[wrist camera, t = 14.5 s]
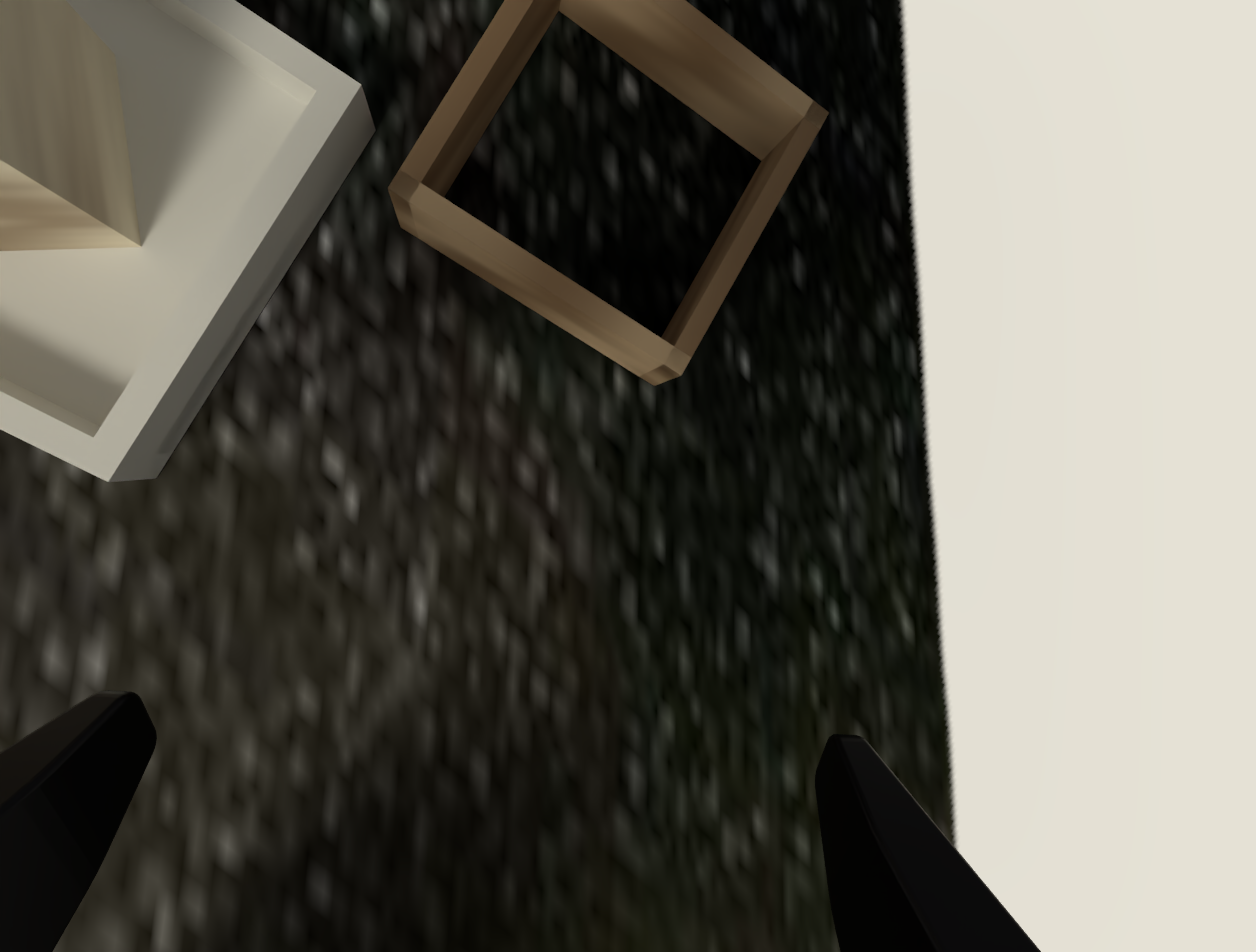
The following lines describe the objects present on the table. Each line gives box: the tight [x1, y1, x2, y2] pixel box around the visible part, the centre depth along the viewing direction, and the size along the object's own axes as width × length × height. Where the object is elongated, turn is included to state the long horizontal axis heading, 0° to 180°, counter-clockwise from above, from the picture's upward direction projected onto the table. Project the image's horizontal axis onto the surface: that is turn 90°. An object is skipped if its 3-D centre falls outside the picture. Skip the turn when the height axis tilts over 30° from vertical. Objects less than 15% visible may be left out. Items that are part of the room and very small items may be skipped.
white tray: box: [0, 0, 376, 482], centre depth 17 cm, size 13×12×2 cm
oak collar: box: [388, 0, 829, 386], centre depth 20 cm, size 9×9×3 cm
